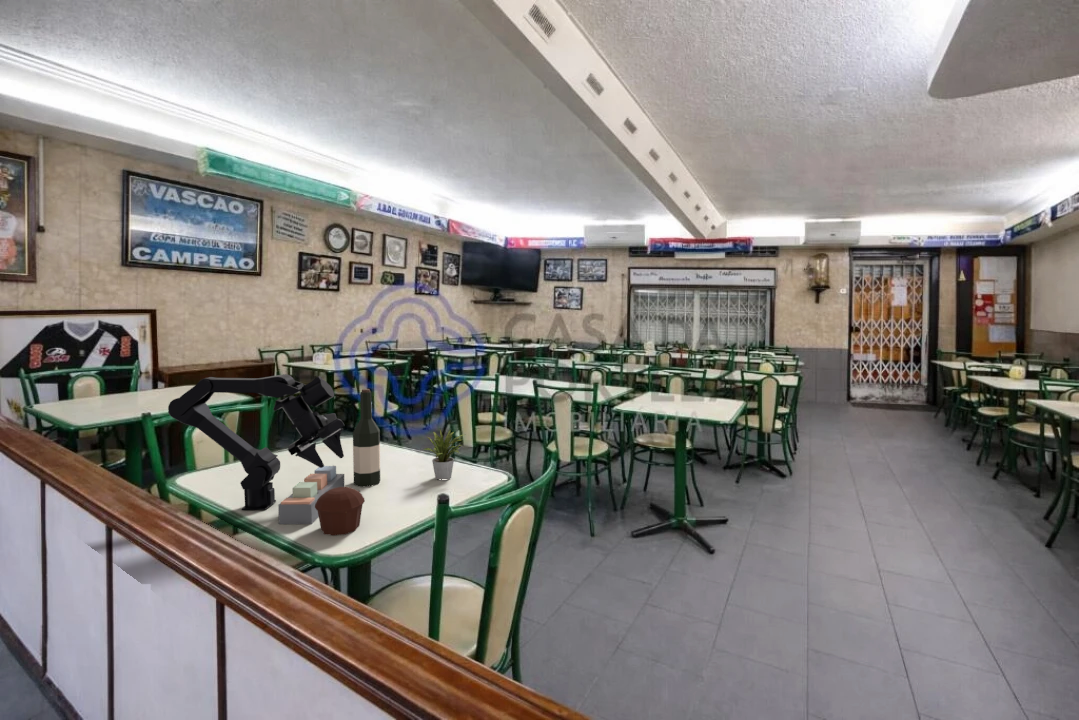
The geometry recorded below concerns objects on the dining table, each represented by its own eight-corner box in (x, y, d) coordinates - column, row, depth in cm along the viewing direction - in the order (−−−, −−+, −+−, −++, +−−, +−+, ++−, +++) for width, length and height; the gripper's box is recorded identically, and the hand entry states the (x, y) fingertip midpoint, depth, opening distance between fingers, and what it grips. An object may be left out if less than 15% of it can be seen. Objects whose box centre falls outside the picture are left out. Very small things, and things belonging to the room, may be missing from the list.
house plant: (462, 486, 161) (462, 435, 160) (418, 486, 161) (417, 434, 160) (468, 472, 175) (468, 425, 174) (427, 472, 175) (427, 425, 174)
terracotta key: (304, 491, 142) (304, 478, 142) (310, 485, 147) (310, 473, 147) (321, 491, 143) (321, 478, 142) (327, 485, 147) (327, 473, 147)
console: (278, 524, 131) (278, 502, 130) (317, 489, 156) (316, 472, 156) (311, 523, 131) (311, 502, 131) (344, 489, 157) (344, 471, 156)
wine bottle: (372, 487, 159) (370, 391, 156) (348, 485, 161) (346, 390, 158) (385, 479, 167) (384, 388, 165) (362, 477, 169) (360, 387, 166)
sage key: (292, 500, 135) (292, 487, 135) (300, 494, 139) (299, 482, 139) (310, 500, 135) (310, 487, 135) (317, 494, 140) (317, 482, 139)
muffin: (321, 542, 121) (320, 500, 120) (310, 526, 130) (309, 487, 129) (371, 530, 128) (370, 490, 127) (358, 515, 137) (357, 479, 136)
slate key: (314, 482, 150) (314, 470, 149) (320, 477, 154) (320, 465, 154) (330, 482, 150) (330, 470, 150) (336, 477, 155) (336, 465, 154)
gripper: (341, 391, 145) (371, 438, 147) (303, 414, 153) (332, 457, 156) (312, 408, 135) (345, 458, 137) (273, 431, 144) (305, 477, 146)
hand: (332, 462), depth 144 cm, fingers open, 9 cm apart
